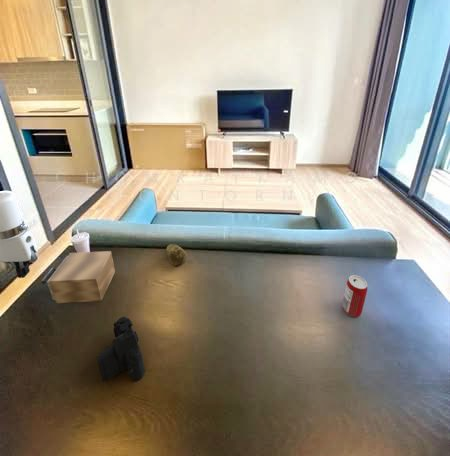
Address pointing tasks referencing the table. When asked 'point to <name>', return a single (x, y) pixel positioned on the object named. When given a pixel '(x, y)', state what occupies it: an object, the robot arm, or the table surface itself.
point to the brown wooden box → (83, 277)
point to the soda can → (354, 296)
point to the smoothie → (81, 241)
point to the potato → (176, 255)
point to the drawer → (51, 277)
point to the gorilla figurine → (122, 353)
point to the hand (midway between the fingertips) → (24, 274)
